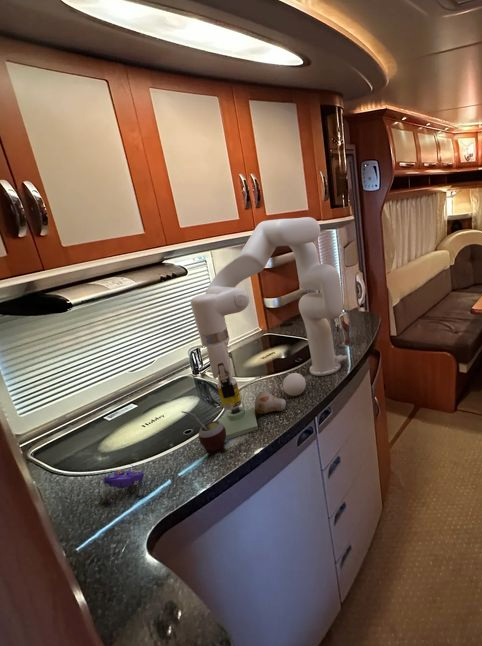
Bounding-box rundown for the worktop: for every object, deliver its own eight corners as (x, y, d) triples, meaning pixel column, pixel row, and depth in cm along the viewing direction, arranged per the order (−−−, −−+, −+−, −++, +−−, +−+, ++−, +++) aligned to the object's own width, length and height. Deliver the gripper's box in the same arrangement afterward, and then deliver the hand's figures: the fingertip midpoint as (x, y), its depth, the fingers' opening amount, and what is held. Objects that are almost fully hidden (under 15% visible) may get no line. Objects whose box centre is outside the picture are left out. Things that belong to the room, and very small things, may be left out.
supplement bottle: (237, 410, 111) (228, 379, 108) (219, 411, 112) (211, 381, 109) (245, 400, 116) (237, 371, 113) (228, 401, 117) (220, 372, 114)
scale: (254, 410, 126) (252, 402, 125) (258, 429, 115) (256, 421, 114) (220, 420, 122) (218, 412, 122) (220, 441, 111) (218, 433, 110)
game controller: (150, 457, 101) (143, 472, 92) (147, 487, 101) (140, 506, 92) (106, 460, 98) (94, 476, 88) (104, 491, 98) (91, 511, 88)
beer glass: (338, 348, 170) (333, 317, 165) (336, 343, 176) (331, 313, 172) (353, 345, 171) (348, 314, 166) (351, 340, 177) (346, 310, 173)
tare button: (239, 409, 123) (238, 405, 122) (240, 413, 120) (239, 408, 120) (232, 411, 122) (231, 407, 121) (232, 415, 120) (231, 411, 119)
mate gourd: (234, 443, 109) (222, 398, 105) (215, 462, 102) (200, 414, 98) (215, 440, 112) (202, 396, 108) (194, 458, 105) (180, 411, 101)
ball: (281, 400, 130) (276, 379, 128) (290, 388, 138) (286, 369, 135) (302, 400, 129) (298, 379, 126) (310, 388, 136) (306, 368, 134)
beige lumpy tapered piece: (287, 415, 121) (265, 396, 117) (265, 426, 124) (244, 408, 120) (292, 398, 127) (272, 380, 123) (271, 409, 130) (251, 391, 126)
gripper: (201, 331, 114) (216, 384, 119) (199, 349, 99) (216, 409, 104) (227, 325, 117) (240, 377, 122) (229, 342, 101) (244, 401, 106)
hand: (229, 391), depth 113 cm, fingers closed on supplement bottle, 5 cm apart
